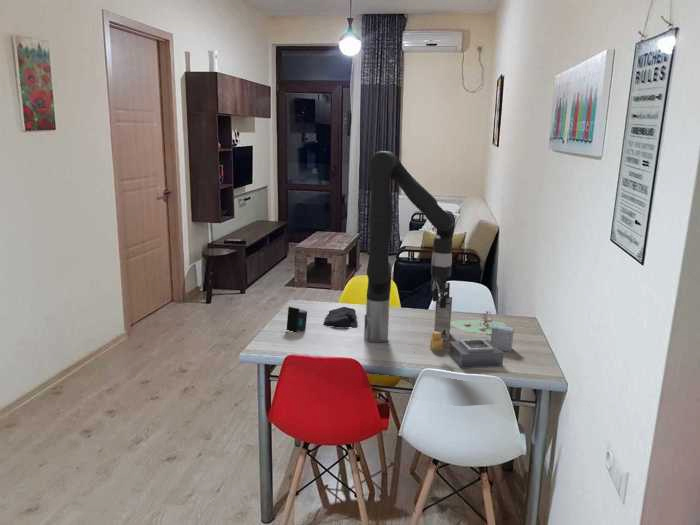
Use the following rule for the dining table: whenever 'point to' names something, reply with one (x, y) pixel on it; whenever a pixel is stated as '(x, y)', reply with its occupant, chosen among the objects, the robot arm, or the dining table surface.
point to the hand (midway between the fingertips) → (438, 304)
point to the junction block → (475, 353)
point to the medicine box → (502, 337)
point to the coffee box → (443, 318)
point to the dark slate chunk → (341, 318)
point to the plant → (477, 325)
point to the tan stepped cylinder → (436, 341)
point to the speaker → (296, 319)
